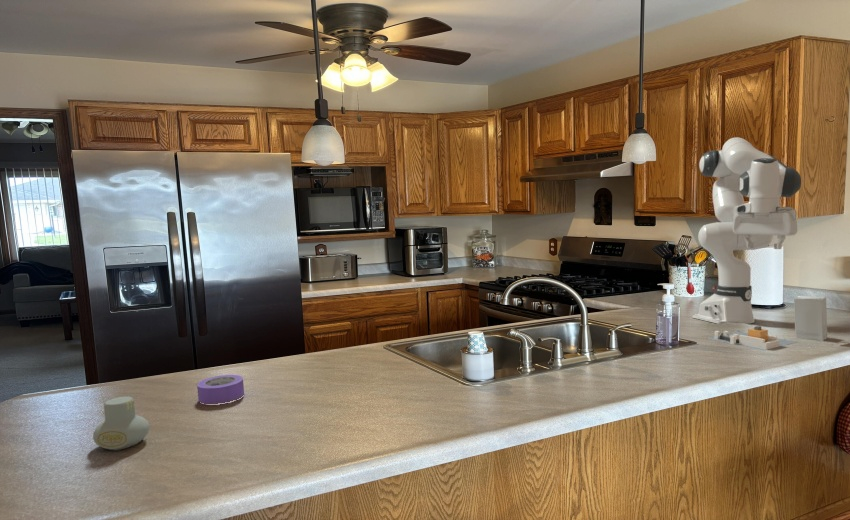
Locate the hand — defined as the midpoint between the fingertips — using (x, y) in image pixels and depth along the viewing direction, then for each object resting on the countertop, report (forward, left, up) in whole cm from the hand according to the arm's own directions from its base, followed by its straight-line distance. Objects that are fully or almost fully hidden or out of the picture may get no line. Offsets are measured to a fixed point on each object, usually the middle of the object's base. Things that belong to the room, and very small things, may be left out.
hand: (763, 248), depth 195 cm
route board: (+1, -8, -31) cm, 32 cm away
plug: (+6, -12, -30) cm, 33 cm away
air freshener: (-22, -194, -31) cm, 198 cm away
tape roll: (-43, -170, -32) cm, 178 cm away
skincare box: (+10, +10, -31) cm, 34 cm away
